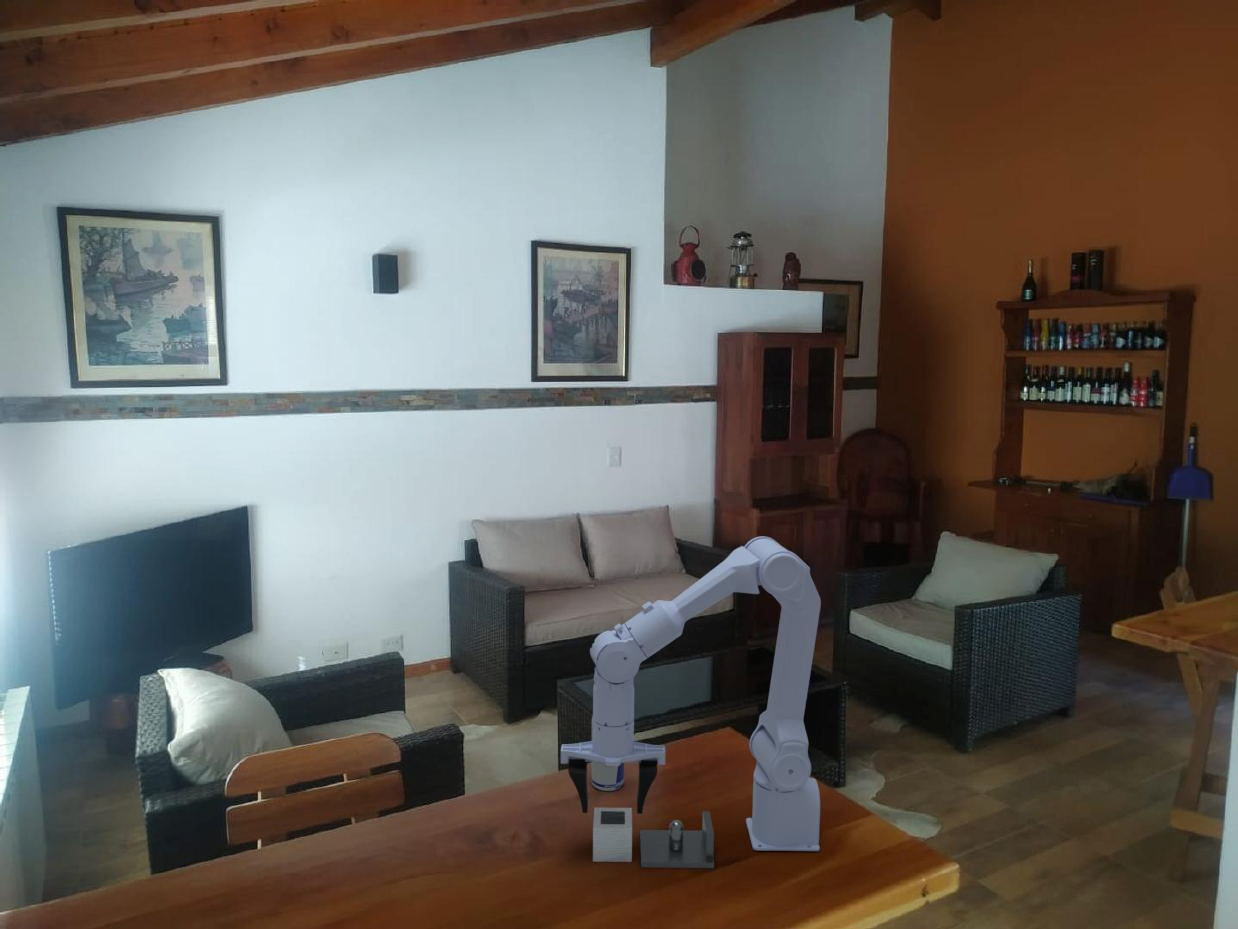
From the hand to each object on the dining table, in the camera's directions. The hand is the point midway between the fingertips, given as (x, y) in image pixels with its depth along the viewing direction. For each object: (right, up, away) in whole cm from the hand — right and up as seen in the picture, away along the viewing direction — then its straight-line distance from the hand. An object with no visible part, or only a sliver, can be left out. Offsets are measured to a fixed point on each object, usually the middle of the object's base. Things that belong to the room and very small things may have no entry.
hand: (612, 809), depth 125 cm
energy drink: (-1, -4, +20) cm, 20 cm away
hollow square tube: (0, -6, +1) cm, 6 cm away
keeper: (+9, -6, +1) cm, 11 cm away
